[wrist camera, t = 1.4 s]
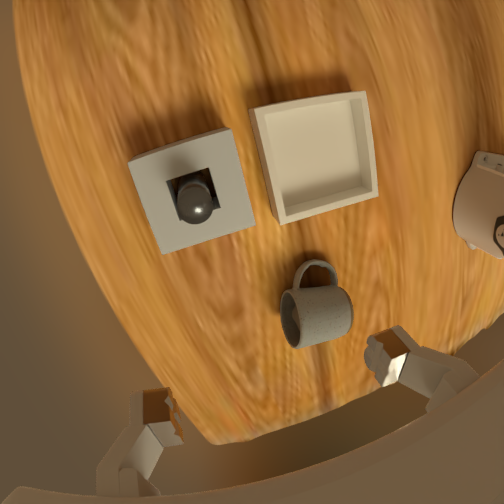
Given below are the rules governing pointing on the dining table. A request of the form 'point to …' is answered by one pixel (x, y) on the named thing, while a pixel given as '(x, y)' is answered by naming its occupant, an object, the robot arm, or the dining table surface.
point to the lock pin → (194, 199)
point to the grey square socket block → (184, 162)
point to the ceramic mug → (315, 310)
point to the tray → (315, 153)
